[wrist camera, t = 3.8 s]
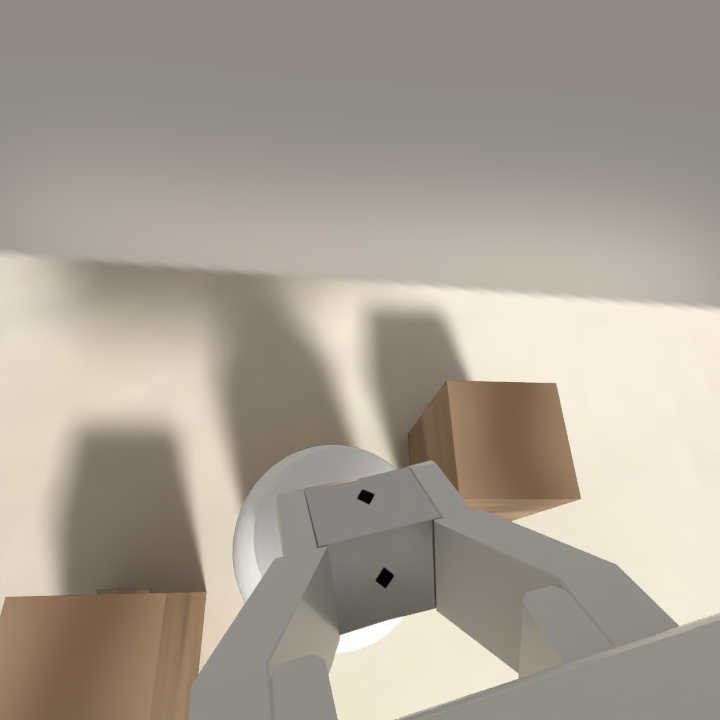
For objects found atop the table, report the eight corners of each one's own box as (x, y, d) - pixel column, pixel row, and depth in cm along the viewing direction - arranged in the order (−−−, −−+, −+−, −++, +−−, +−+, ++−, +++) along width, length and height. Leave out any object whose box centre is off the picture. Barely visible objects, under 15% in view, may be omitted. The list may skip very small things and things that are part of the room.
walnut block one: (72, 724, 21) (-47, 796, 13) (98, 591, 23) (7, 592, 16) (193, 717, 21) (140, 783, 14) (206, 588, 23) (167, 587, 16)
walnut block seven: (414, 524, 26) (459, 499, 19) (407, 431, 28) (446, 377, 21) (503, 523, 26) (580, 498, 19) (490, 432, 29) (555, 380, 21)
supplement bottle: (275, 477, 26) (258, 388, 14) (394, 504, 26) (471, 437, 15) (236, 614, 23) (176, 641, 11) (371, 644, 23) (446, 700, 12)
